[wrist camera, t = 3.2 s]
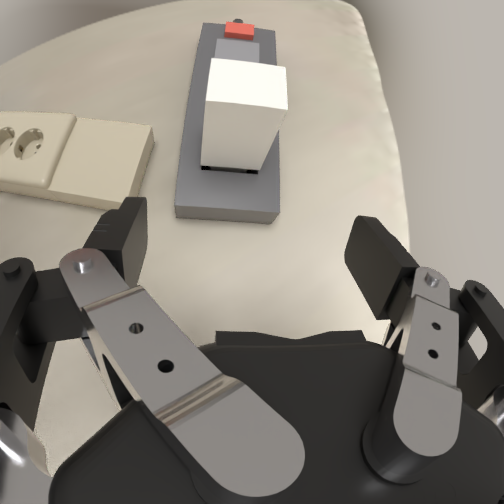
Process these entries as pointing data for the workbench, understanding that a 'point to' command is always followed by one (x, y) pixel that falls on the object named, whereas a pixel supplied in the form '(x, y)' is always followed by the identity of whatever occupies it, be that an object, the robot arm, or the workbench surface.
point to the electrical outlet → (72, 158)
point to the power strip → (189, 171)
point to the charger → (242, 114)
